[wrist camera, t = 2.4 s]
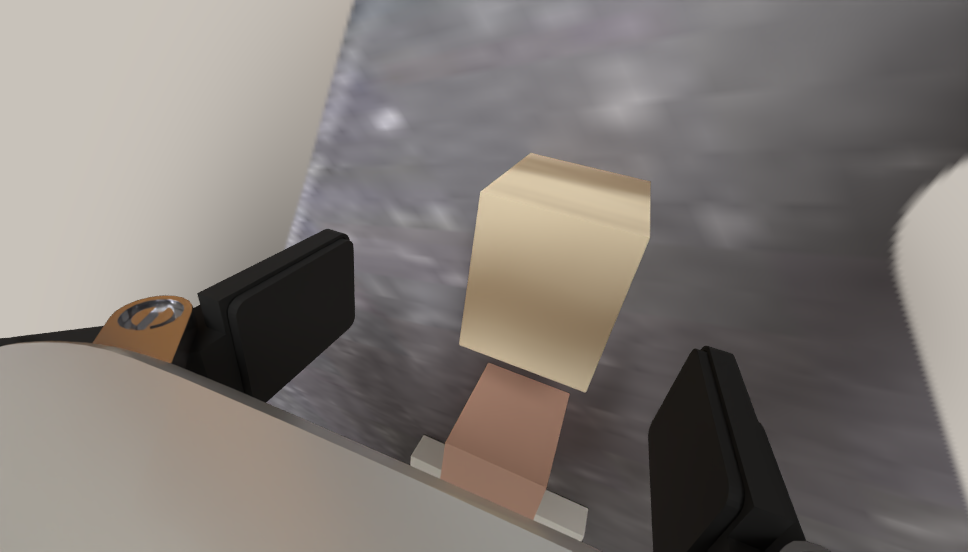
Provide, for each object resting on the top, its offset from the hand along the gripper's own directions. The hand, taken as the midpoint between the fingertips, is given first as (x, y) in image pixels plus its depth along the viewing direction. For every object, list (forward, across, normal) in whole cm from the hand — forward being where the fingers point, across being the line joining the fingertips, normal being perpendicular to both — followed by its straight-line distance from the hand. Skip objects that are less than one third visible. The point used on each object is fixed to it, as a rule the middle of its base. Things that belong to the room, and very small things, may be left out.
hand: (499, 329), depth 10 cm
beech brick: (+5, -1, -1) cm, 5 cm away
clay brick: (+6, -1, +9) cm, 11 cm away
